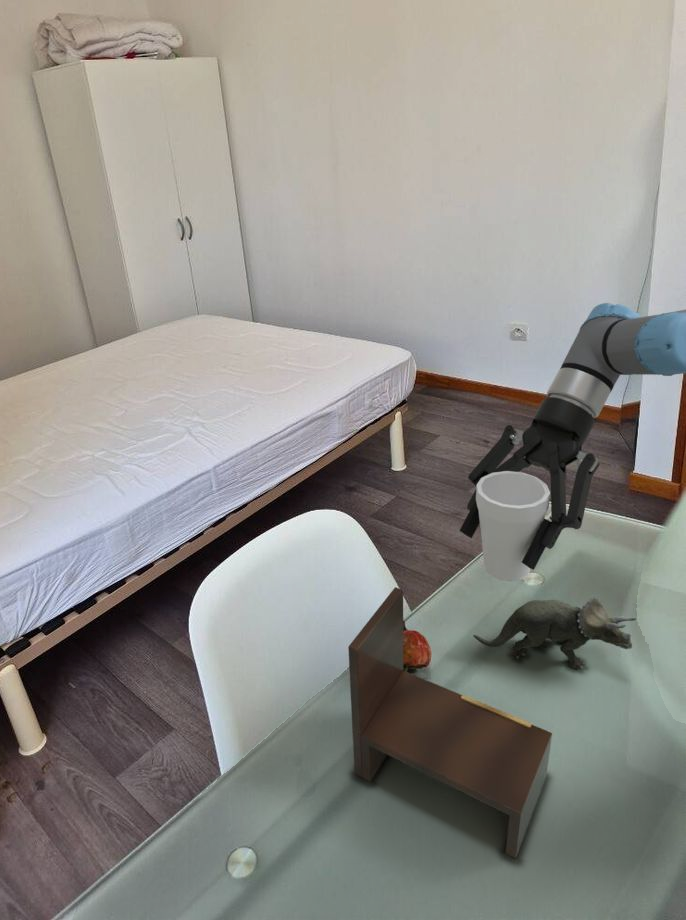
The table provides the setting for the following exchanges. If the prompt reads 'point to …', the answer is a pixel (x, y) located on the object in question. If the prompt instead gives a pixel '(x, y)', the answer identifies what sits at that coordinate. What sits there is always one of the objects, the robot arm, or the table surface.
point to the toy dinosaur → (561, 627)
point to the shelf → (440, 728)
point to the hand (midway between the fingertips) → (495, 549)
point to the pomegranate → (415, 650)
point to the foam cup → (509, 520)
